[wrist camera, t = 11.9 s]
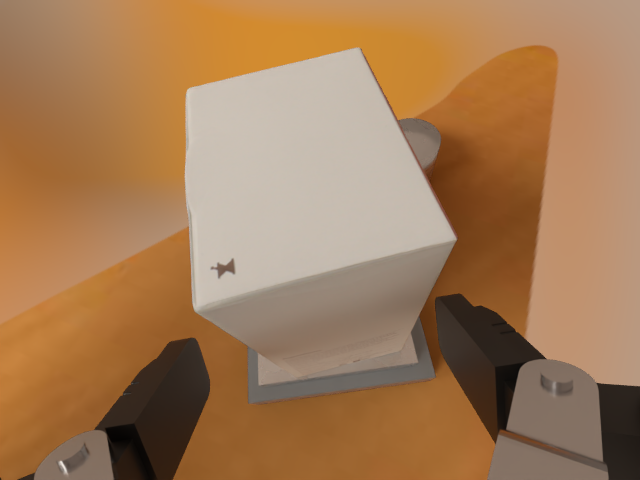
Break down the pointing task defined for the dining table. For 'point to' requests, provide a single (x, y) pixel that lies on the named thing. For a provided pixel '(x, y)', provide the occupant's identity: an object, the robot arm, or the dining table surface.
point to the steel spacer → (422, 142)
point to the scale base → (343, 377)
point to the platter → (277, 376)
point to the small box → (309, 214)
